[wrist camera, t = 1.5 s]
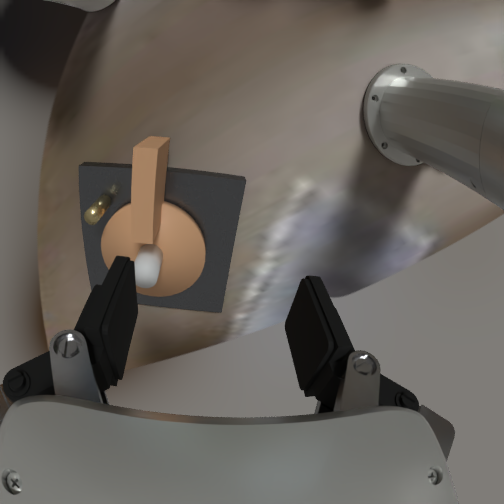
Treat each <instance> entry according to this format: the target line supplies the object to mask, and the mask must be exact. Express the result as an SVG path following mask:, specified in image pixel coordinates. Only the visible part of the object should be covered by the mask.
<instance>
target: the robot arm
mask: <svg viewBox="0 0 504 504" xmlns="http://www.w3.org/2000/svg"><path fill="white" fill-rule="evenodd" d="M372 97H373V99H372ZM363 109H364V121H365V125H366V129H367V132H368V134H369V137H370V139H371V141H372V142H373V144H374V146H375V147H376V148H377V149H378V151H379V152H380V153H381V154H382V155H384V156H385V157H386V158H387V159H389V160H391V161H393V162H395V163H397V164H400V165H404V166H415V165H419V164H422V163H426V164H428V165H430V166H431V167H433V168H435V169H437V170H439V171H441V172H443V173H445V174H446V175H448V176H450V177H452V178H454V179H455V180H457V181H459V182H460V183H462V184H464V185H466V186H467V187H469V188H470V189H472V190H474V191H475V192H477V193H479V194H480V195H482V196H483V197H485V198H486V199H488V200H489V201H491V202H492V203H494V204H496V205H497V206H499V207H500V208H501V209H503V210H504V90H502V89H498V88H494V87H489V86H484V85H478V84H473V83H467V82H460V81H453V80H445V79H436V78H433V77H432V76H431V75H430V74H429V73H427V72H426V71H425V70H423V69H421V68H419V67H417V66H414V65H410V64H395V65H390V66H388V67H386V68H384V69H382V70H381V71H380V72H378V73H377V74H376V75H375V77H374V78H373V79H372V80H371V82H370V84H369V86H368V88H367V91H366V95H365V99H364V108H363ZM381 144H382V145H381ZM137 315H138V304H137V293H136V279H135V263H134V261H131V260H130V257H126V256H118V255H117V256H116V257H115V259H114V261H113V263H112V265H111V267H110V269H109V271H108V273H107V275H106V277H105V279H104V281H103V283H102V285H98V284H96V285H95V286H94V288H93V289H92V292H91V294H90V296H89V298H88V300H87V302H86V304H85V306H84V308H83V311H82V313H81V315H80V317H79V320H78V322H77V324H76V326H75V329H74V330H64V331H61V332H59V333H57V334H56V335H55V336H54V337H53V338H52V340H51V342H50V348H49V349H50V351H48V352H46V353H44V354H42V355H40V356H38V357H36V358H34V359H32V360H30V361H28V362H26V363H24V364H21V365H20V366H17V367H15V368H13V369H11V370H10V371H9V372H8V373H7V374H6V375H5V377H4V380H3V384H1V385H0V504H459V503H458V499H457V495H456V491H455V488H454V484H453V481H452V478H451V475H450V471H449V468H448V466H447V463H446V461H447V458H448V455H449V452H450V449H451V446H452V443H453V440H454V436H455V430H454V427H453V425H452V424H451V423H450V422H449V421H447V420H446V419H444V418H443V417H441V416H439V415H438V414H436V413H435V412H433V411H432V410H430V409H429V408H427V407H425V406H424V405H421V406H419V402H418V400H417V398H416V396H415V395H414V394H413V393H412V392H410V391H409V390H407V389H405V388H404V387H402V386H400V385H398V384H397V383H395V382H393V381H392V380H390V379H388V378H387V377H385V376H383V375H382V374H380V364H379V362H378V360H377V359H376V358H375V357H374V356H373V355H372V354H370V353H368V352H366V351H361V350H360V351H355V350H354V348H353V345H352V343H351V341H350V339H349V336H348V334H347V332H346V330H345V327H344V325H343V323H342V321H341V318H340V316H339V314H338V312H337V310H336V308H335V307H334V305H333V303H332V301H331V299H330V297H329V294H328V292H327V290H326V288H325V286H324V284H323V282H322V280H321V278H320V277H318V276H306V277H305V279H302V280H301V282H300V285H299V287H298V290H297V293H296V295H295V298H294V301H293V303H292V306H291V309H290V311H289V314H288V316H287V319H286V322H285V331H286V335H287V338H288V343H289V346H290V350H291V354H292V358H293V362H294V366H295V370H296V374H297V378H298V382H299V386H300V389H301V390H304V393H305V397H309V396H315V397H316V399H317V400H318V402H317V406H316V410H315V413H314V414H309V415H298V416H282V417H255V418H230V417H228V418H227V417H226V418H225V417H203V416H188V415H176V414H166V413H158V412H150V411H143V410H136V409H130V408H124V407H118V406H113V405H109V402H108V399H107V396H106V393H105V390H107V389H109V388H110V385H113V386H117V381H118V379H119V380H122V378H123V374H124V369H125V364H126V360H127V356H128V351H129V347H130V343H131V339H132V335H133V331H134V327H135V323H136V319H137Z"/></svg>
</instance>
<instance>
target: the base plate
mask: <svg viewBox="0 0 504 504" xmlns="http://www.w3.org/2000/svg"><path fill="white" fill-rule="evenodd" d="M245 184H246V179H245V177H243V176H236V175H229V174H222V173H214V172H206V171H198V170H189V169H179V168H169V167H167V171H166V182H165V194H164V201H166V202H169V203H171V204H174V205H176V206H178V207H179V208H181V209H183V210H184V211H185V212H186V213H188V214H189V215H190V216H191V217H192V218H193V219H194V220H195V222H196V223H197V224H198V226H199V228H200V230H201V232H202V234H203V236H204V240H205V247H206V253H205V263H204V268H203V270H202V273H201V274H200V276H199V278H198V279H197V280H196V282H195V283H194V284H193V285H192V286H190V287H189V288H187V289H186V290H184V291H182V292H180V293H177V294H174V295H171V296H163V297H156V296H148V295H143V294H140V293H137V292H136V293H137V304H145V305H153V306H161V307H170V308H179V309H188V310H198V311H209V312H221V313H222V307H223V301H224V296H225V290H226V284H227V279H228V273H229V268H230V262H231V257H232V252H233V246H234V241H235V236H236V230H237V225H238V220H239V215H240V210H241V204H242V199H243V194H244V189H245ZM131 186H132V164H117V163H96V162H84V163H82V164H81V165H79V192H80V209H81V221H82V231H83V240H84V248H85V255H86V262H87V268H88V274H89V280H90V285H91V290H92V289H93V288H94V286H95V285H96V284H98V285H102V283H103V281H104V279H105V277H106V275H107V273H108V271H109V269H108V268H107V266H106V264H105V262H104V259H103V256H102V251H101V238H102V234H103V231H104V228H105V226H106V224H107V223H108V221H109V220H110V219H111V217H112V216H113V215H114V214H115V213H116V211H118V210H119V209H120V208H121V207H123V206H124V205H126V204H128V203H131Z"/></svg>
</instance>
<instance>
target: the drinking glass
mask: <svg viewBox="0 0 504 504" xmlns="http://www.w3.org/2000/svg"><path fill="white" fill-rule="evenodd" d="M48 1H53V2H58V3H62V4H66V5H70V6H74V7H77V8H80V9H82V10H84V11H88V12H94V11H98V10H101V9H104V8H106V7H107V6H109V5H110V4H112V3H113V2H114V1H115V0H48Z"/></svg>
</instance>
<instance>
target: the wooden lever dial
mask: <svg viewBox="0 0 504 504" xmlns="http://www.w3.org/2000/svg"><path fill="white" fill-rule="evenodd" d="M169 143H170V138H167V137H154V136H150V137H148V138H146V139H145V140H143V141H142V142H140V143H139V144H138V145H136V146H135V147H134V148H133V163H132V186H131V203H128V204H126V205H124V206H123V207H121V208H120V209H119V210H118V211H116V213H115V214H114V215H113V216H112V217H111V219H110V220H109V221H108V223H107V224H106V226H105V228H104V231H103V234H102V238H101V251H102V256H103V259H104V262H105V264H106V266H107V268H108V269H110V267H111V265H112V263H113V261H114V259H115V257H116V256H117V255H118V256H126V257H130V260H131V261H134V263H135V279H136V292H137V293H140V294H143V295H148V296H156V297H163V296H171V295H174V294H177V293H180V292H182V291H184V290H186V289H187V288H189V287H190V286H192V285H193V284H194V283H195V282H196V280H197V279H198V278H199V276H200V274H201V273H202V270H203V268H204V263H205V253H206V247H205V240H204V236H203V234H202V232H201V230H200V228H199V226H198V224H197V223H196V222H195V220H194V219H193V218H192V217H191V216H190V215H189V214H188V213H186V212H185V211H184V210H183V209H181V208H179V207H178V206H176V205H174V204H171V203H169V202H166V201H164V194H165V182H166V171H167V160H168V151H169Z"/></svg>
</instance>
